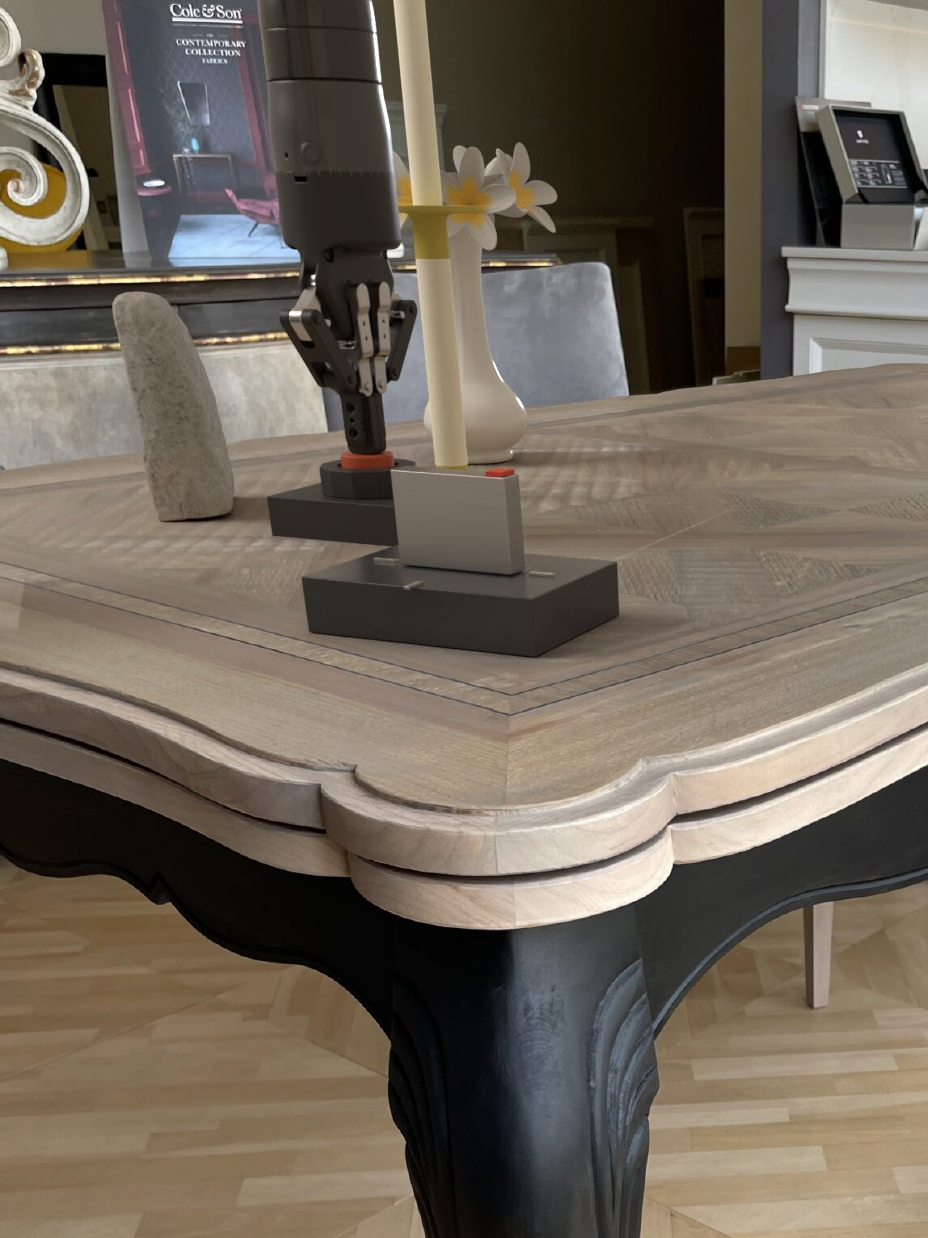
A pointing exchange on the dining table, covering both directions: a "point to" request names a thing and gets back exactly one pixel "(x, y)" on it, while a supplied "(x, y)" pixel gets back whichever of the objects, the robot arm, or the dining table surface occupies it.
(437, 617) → the dark grey slotted base
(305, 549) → the dining table surface
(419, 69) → the candle
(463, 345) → the flower vase
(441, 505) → the grey box
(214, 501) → the decorative stone
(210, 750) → the dining table surface
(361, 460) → the button
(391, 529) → the button box
